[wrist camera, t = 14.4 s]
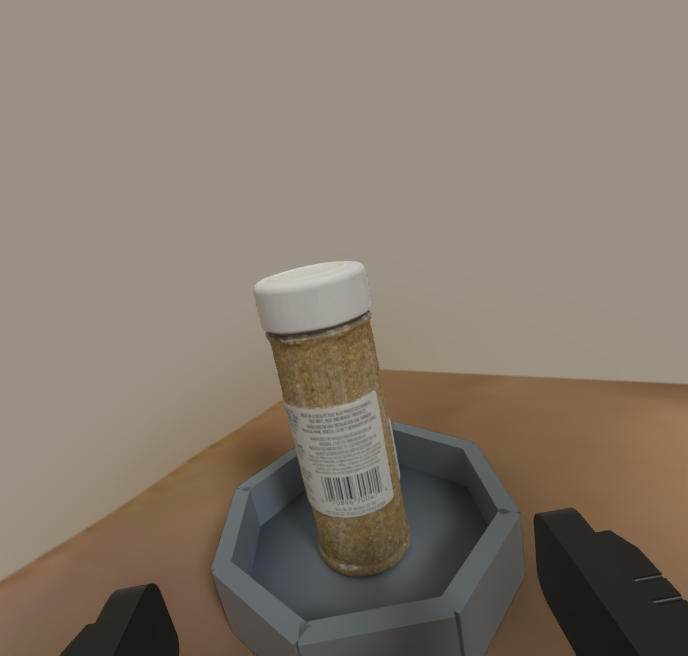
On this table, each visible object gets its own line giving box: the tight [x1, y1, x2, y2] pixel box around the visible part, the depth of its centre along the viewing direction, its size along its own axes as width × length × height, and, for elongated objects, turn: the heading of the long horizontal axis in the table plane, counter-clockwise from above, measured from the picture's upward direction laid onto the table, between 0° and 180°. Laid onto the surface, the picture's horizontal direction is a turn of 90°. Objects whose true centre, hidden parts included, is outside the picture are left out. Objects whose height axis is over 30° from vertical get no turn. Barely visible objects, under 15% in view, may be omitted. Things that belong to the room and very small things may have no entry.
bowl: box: [211, 422, 525, 656], centre depth 20 cm, size 13×13×3 cm
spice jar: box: [253, 261, 411, 577], centre depth 19 cm, size 5×5×13 cm
